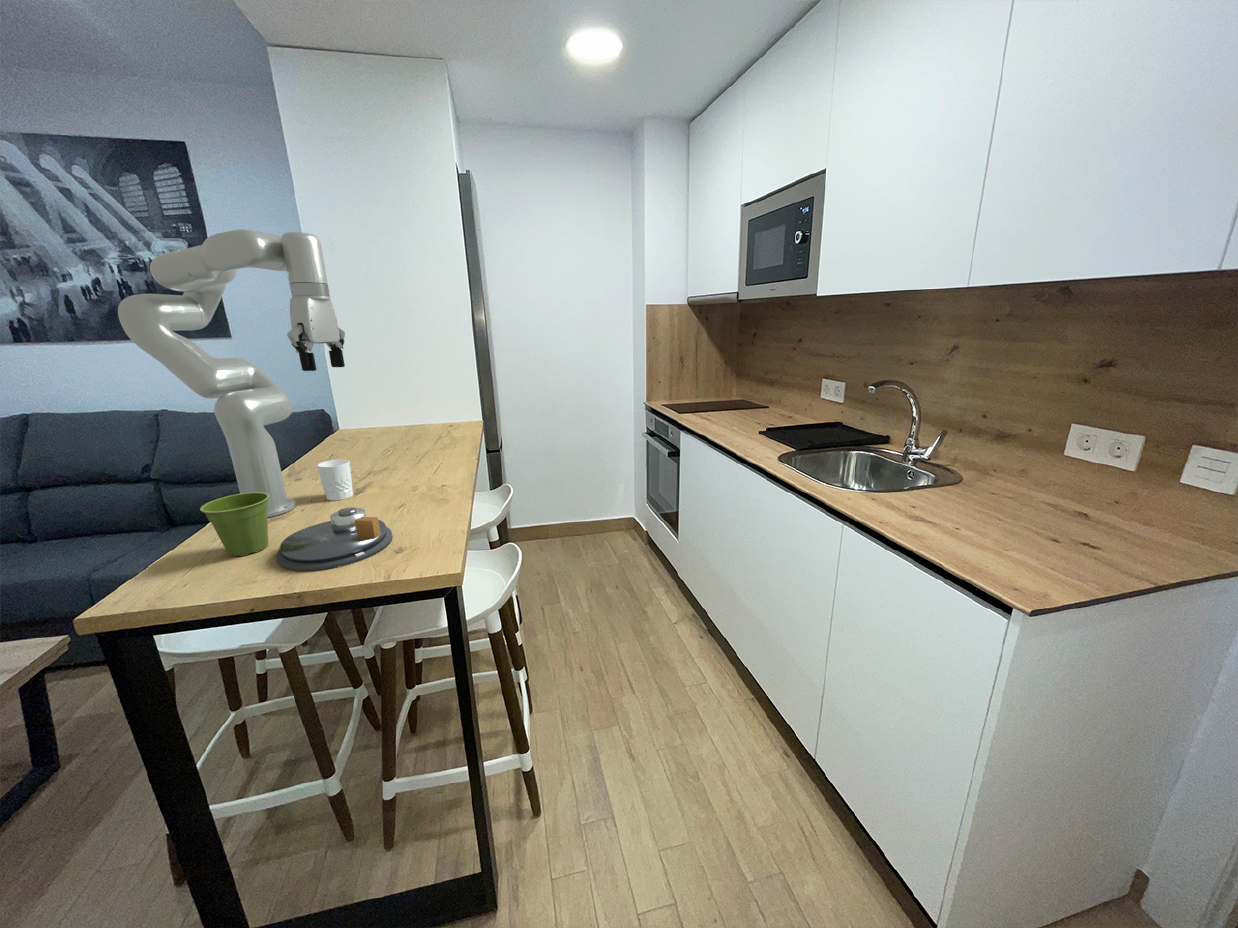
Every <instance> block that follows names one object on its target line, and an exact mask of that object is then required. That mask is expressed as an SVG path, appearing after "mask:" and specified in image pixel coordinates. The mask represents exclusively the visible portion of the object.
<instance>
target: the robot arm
mask: <svg viewBox="0 0 1238 928" xmlns="http://www.w3.org/2000/svg"><path fill="white" fill-rule="evenodd" d="M325 266H326V264H325V260H324V256H323V249H322V243H321V240H320V238H319V237H318V236H316V235H315V234H313V233H308V232H295V231H294V232H293V231H291V232H285V233H283V234H282V235H274V234H271V233H266V232H262V231H258V230H252V229H251V230H250V229H241V228H240V229H233V230H228V231H224V232H223V231H222V232H219V233H215V234H212V235H210V236H208V237H207V238H205V240H204V242H203V243H202V244H200V245H196V246H192V247H186V248H182V249H178V250H173V251H168V252H165V253H162V254H159V255H157V256H156V257H154V258H153V259H152V261H151V262H150V264H149V271H150V272H149V273H150V274H151V276H152V278H153V279H154V280H155V282H156V283H158V284H159V285H160V286H162V287H163V288H166V289H168V290H171V291H175V292H183V294H182V295H180V294H178V295H177V294H163V293H162V294H160V293H139V294H133V295H129V296H126V297H124V299H122V300H121V301H120V302H119V304H118V308H117V315H118V319H119V323H120V325H121V327H122V329H123V331H124V333H125V334H126V336H128V338H129V339H130V340H131V341H132V342H133V343H134V344H135V345H136V346H137V347H138V348H140V349H141V350H142V351H143V352H145V353H147V354H148V355H149V356H151V357H152V358H153V359H155V360H156V361H158V362H159V363H160V364H162V365H163V366H164V367H165V368H166V369H167V370H168V371H170V373H172V374H173V375H174V376H175V377H176V378H178V379H179V380H180V381H181V382H182V384H184V385H185V386H187V387H188V388H189V389H190V390H191V391H192V392H194V393H195V394H197V395H198V396H199V397H200V398H201V397H202V398H204V399H209V400H211V399H213V400H214V399H217V400H216V401H215V403H214V407H213V408H214V409H213V410H214V411H213V412H214V415H215V418H216V420H217V422H218V424H219V426H220V428H221V430H222V432H223V434H224V438H225V439H226V443H227V447H228V451H229V455H230V458H231V460H232V461H231V463H232V465H233V470H234V474H235V477H236V481H237V486H238V490H239V494H241V493H249V492H264V493H268V494H269V495H270V497H269V499H268V508H267V518H271V517H275V516H279V515H282V514H285V513H288V512H290V511H291V510H293V509H294V508H295V507H296V505H297V504H296V501H295V500H294V499H291V498H290V499H289V498H288V497H287V496H288V495H287V491H286V487H285V483H284V478H283V473H282V469H281V465H280V460H279V456H278V455H279V454H278V450H277V446H276V444H275V443H276V442H275V441H274V439H273V436H271V435H270V433H269V432H268V431H267V430H266V428H265V427H264V426H267V425H272V424H275V423H276V424H277V423H279V422H283V421H285V420H287V419H288V418H289V417H290V416H291V414H292V411H293V403H292V400H291V399H290V396H289V395H288V394H287V392H286V391H285V390H284V389H283V388H282V387H281V386H279V384H278V383H276V382H275V381H274V380H272V379H271V377H270V376H268V375H267V374H266V373H265V372H263V370H261V369H260V368H259V367H258V366H257V365H256V364H254V363H252V362H251V361H249V360H246V359H243V358H239V357H226V358H225V357H224V358H217V357H213V356H212V355H210V354H208V353H207V352H205V350H203V349H202V348H201V346H200V345H198V344H196V343H195V342H194V341H192V340H191V339H189V338H187V337H185V336H182V335H180V334H179V333H177V332H176V331H179V332H180V331H198V330H202V329H204V328H206V327H207V326H208V325H209V323H210V322H211V321H212V319H213V317H214V314H215V312H216V310H217V308H218V306H219V304H220V302H221V299H222V297H223V295H224V293H225V291H226V287H227V284H228V283H229V284H230V283H231V282H232V281H233V280H234V279H235V278H236V275H237V270H239V269H240V270H241V269H249V268H252V269H262V270H271V271H278V272H287V279H288V284H289V289H290V290H289V291H290V294H291V298H289V317H290V325H291V326H290V327H291V329H290V330H289V331H288V332H287V333H286V335H287V338H288V339H289V341H290V342H291V346H292V347H294V349H295V352H296V353H297V354H298V355H299V361H300V366H301V371H303V372H314V371H315V372H316V371H317V364H316V359H315V354H314V352H312V350H313V347H314V345H316V344H317V345H318V344H326V346H327V347H328V349H329V350H328V353H329V361H330V366H331V367H332V368H345V366H346V365H345V361H344V354H343V353H344V352H343V351H344V345H345V337H346V332H345V331H344V330H343V329H341V328H340V327H339V324H338V319H337V315H336V313H335V309H334V305H333V303H332V300H331V296H330V295H331V294H330V289H329V284H328V277H327V271H326V267H325Z"/></svg>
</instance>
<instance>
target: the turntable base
mask: <svg viewBox="0 0 1238 928" xmlns="http://www.w3.org/2000/svg"><path fill="white" fill-rule="evenodd" d="M386 531H387V534H386V536H385V538H384V539H383V540H382V541H381V542H380V543H378V544H377V545H375V546H373V547H371V548H369V549H367V550H365V551H363V552H360V553H357V554H354V555H351V556H348V557H344V558H340V559H336V560H330V561H324V562H314V563H300V562H292V561H289V560H286V559H285V558H283V556H282V554H281V550H280V548H279V549H278V550H277V552H276V554H275V557H276V563H277V562H278V563H277V565H278V564H279V565H278V566H279V567H281V568H283V569H286V570H287V571H288V570H290V571H294V572H296V571H297V572H314V571H323V570H331V569H335V567H336V568H339V567H338V566H341V567H344V566H343V565H345V566H348V565H351V563H352V564H355V563H358V562H362V561H363V560H365V559H368V558H371V557H372V556H375V555H377V554H378V553H380V552H381V551H383V550H385V549H386V548H387V547H389V545H390V544H391V543H392V540H393V533H392V529H391V528H389V526H386ZM354 562H355V563H354ZM347 564H348V565H347Z"/></svg>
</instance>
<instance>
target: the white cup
mask: <svg viewBox="0 0 1238 928" xmlns="http://www.w3.org/2000/svg"><path fill="white" fill-rule="evenodd" d="M316 466H317V470H318V471H317V472H318V475H319V478H320V482H321V485H322V488H323V491H324V494H325V497H326V499H325V500H327V501H330V502H331V501H333V502H334V501H341V500H342V501H343V500H345V499H349V498H351V497H352V496H353V495H354V491H353V479H352V478H353V477H352V470H351V461H350V460H349V459H343V458H342V459H332V460H331V459H330V460H326V461H323V462H319V463H318V464H317V465H316Z"/></svg>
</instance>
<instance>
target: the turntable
mask: <svg viewBox="0 0 1238 928" xmlns="http://www.w3.org/2000/svg"><path fill="white" fill-rule="evenodd" d="M355 525H356V530H354V531H349V532H335V531H333V529H332V524H331V520H330V521H329V520H328V521H324V522H321V523H317V524H316V523H315V524H314V525H310V526H307V527H305V528H302V529H300V530H297V531H296V532H294V533H292V534H290V535H289V536H287V537H285V538H284V539H283V540H282V542H281V543H280V545H279V549H280V550H281V554H282V556H283V558H285V559H286V560H289V561H292V562H300V563H314V562H324V561H330V560H336V559H340V558H344V557H348V556H351V555H354V554H357V553H360V552H363V551H365V550H367V549H369V548H371V547H373V546H375V545H377V544H378V543H380V542H381V541H382V540H383V539H384V538H385V536H386V534H387V531H386V527H387V525H386V523H385V522H384V521H382V520H380V519H379V518H378V517H377V516H366V517H359V518H358V519H356V520H355Z"/></svg>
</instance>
